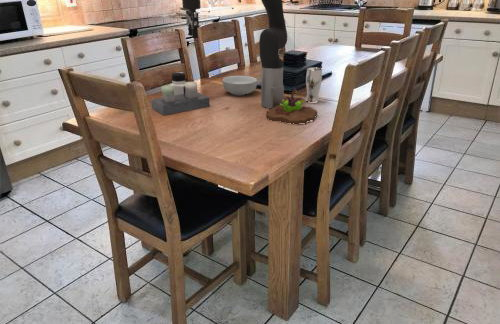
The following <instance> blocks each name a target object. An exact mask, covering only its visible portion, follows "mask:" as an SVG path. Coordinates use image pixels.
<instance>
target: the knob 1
mask: <svg viewBox="0 0 500 324" xmlns="http://www.w3.org/2000/svg"><path fill="white" fill-rule="evenodd" d="M160 90H161V98H162V100H163V102H165V103H168V102H174V101H175V94H174V86H172V85H170V84H169V85H168V84H167V85H166V84H165V85H162V86H161V89H160Z"/></svg>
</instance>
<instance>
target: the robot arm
mask: <svg viewBox="0 0 500 324" xmlns="http://www.w3.org/2000/svg"><path fill="white" fill-rule="evenodd" d="M181 1H182V2H181V3H182V4H181V5H182V9H184V10H186V11H185V13H186V15H185V16H186V18H185V19H186V25H187V27H188V29H187V30H188V36H191V37H192V39H198V38H199V31H198V29H199V27H200V22H199V21H200V19H199V13H198V12H197V10H199V9H200V10H201V0H181ZM260 1H261V3H262V5H263V7H264V9H265V12H266V13H267V18H268V28H265V29H263V30H262V31H261V32H260V35H259V42H258V43H259V44H258V45H259V46H258V47H259V59H260V62H261V78H260V79H261V83H260V85H261V89H260V91H261V92H260V93H261V95H260V98H261V99H260V100H261V101H260V104H261V105H260V106H261V107H263V108H265V107H266V109H271V108H272V109H273V108H274V107H276V106H278V105H280V104H283V105H284V103H283V102H282V100H283V99H284V98H285V96H284V95H285V94H284V92H285V85H284V82H283V80H284V79H283V78H284V59H282V58H280V52H279V51H280V50H282V49H283V48H284V47H285V46H286V44H287V41H288V30H287V27H286V21H285V15H284V4H283V0H260Z"/></svg>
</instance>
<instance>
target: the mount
mask: <svg viewBox="0 0 500 324" xmlns="http://www.w3.org/2000/svg"><path fill="white" fill-rule="evenodd" d="M150 102H151V109H152V110H154V111H155V112H157V113H159V114H160V115H163V116H168V115H173V114H178V113H183V112H187V111H188V112H189V111H193V110H198V109H199V110H200V109H203V108H208V107H210V106H211V104H210V102H211V101H210V97H209V96H207V95H204V94H202V93H200V92H198V97H196V98H190V99H189V98H187V97H186V95H185V94H180V95H175V101H174V102H168V103H165V102H163V100H162V97H157V98H152V99H150Z"/></svg>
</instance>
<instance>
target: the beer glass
mask: <svg viewBox="0 0 500 324" xmlns="http://www.w3.org/2000/svg"><path fill="white" fill-rule="evenodd" d="M322 76H323V68H321V67H314V66H313V67H308V68H306V75H305V85H306V99H305V102H306V101H309V102H316V101H319V102H320V99H319V96H320V95H319V93H320V89H321V85H322V80H323V77H322Z"/></svg>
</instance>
